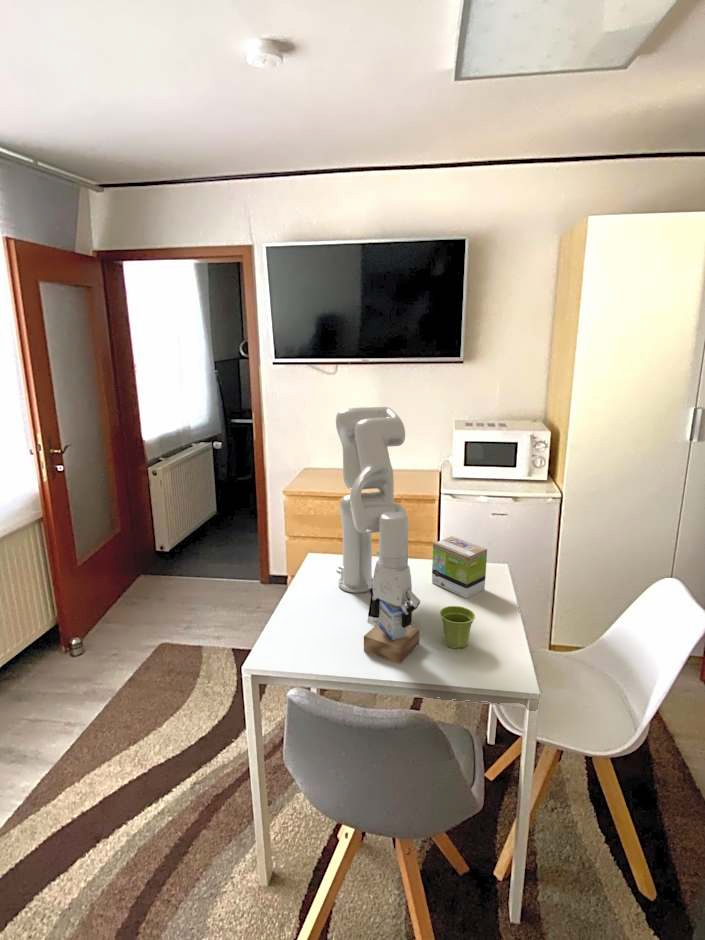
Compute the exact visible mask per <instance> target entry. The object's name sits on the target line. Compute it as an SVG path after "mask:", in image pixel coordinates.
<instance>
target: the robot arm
mask: <svg viewBox="0 0 705 940" xmlns="http://www.w3.org/2000/svg"><path fill="white" fill-rule="evenodd" d="M335 425H336V426H335V427H336V432H337V434H338V437H339V440H340V443H341V446H342V470H343V471H342V473H343V483H344V486H345V487H346V488H347V489H349V490H350V494H346V495H344V496H343V497H342V498H341V499H340V500H339V512H340V517H341V519H340V520H341V528H342V564H341V565H339V566H338V568H337V569H336V573H337V574H339V575H340V578H339V580H338V587H339V588H340V589H341V590H343V591H345V592H348V593H353V594H355V593H359V594H360V593H367V592H369V593H370V594H371V600H372V601H373V614H374V615H375V616H376V615H379V605H380V599H381V600H383V601H385V602H387V603H390V604H392V605H395V606H398V607H400V606H401V608H402V610H403V612H404V613H403V614H402V627H403V628H405V627H407V626H410V625H411V624H412V622H413V621H412V619H413V612H414V611H415V610H417V609H418V607H419V605H420V604H421V599H419V598H418V597H417V595H416V594H415V593H413V591H412V587H413V585H412V576H411V575H412V574H411V568H410V566H409V561H408V560H409V528H410V527H409V517H408V516H407V511H406V509H405V508H404V507H403V505H402V504H401V503H398V502H395V500H394V498H395V495H394V494H395V493H394V490H395V489H394V486H395V485H394V481H395V479H394V469H393V466H392V464H391V463H392V462H391V458H390V453H389V449H388V447H399V446H402V445H403V444H404V443H405V440H406V429H405V425H404V423H403V420H402V419H401V418H400V416H399V415H398V414H397V413H396V412H395V411H394V410H393V409H392V408H391V407H388V406H375V407H374V406H373V407H372V406H371V407H369V406H368V407H367V406H365V407H364V406H363V407H351V408H350V407H349V408H348V407H347V408H344V409H340V410H339V411H338V412H337V413H336V418H335ZM373 489H375V490H376V489H377V491H371V492H370V491H369V492H362V491H364V490H373ZM373 533H374V534H375V533H378V550H377V551H376V555H378V560H376V563H375V566H374V571H373V564H372V563H373V562H372V559H373V557H372V555H373V554H372V553H373V549H372V547H373V542H372V541H373V537H372V534H373ZM372 571H373V573H372ZM372 574H373V575H372ZM405 605H406V606H408V608H407V607H406V606H405Z"/></svg>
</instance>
